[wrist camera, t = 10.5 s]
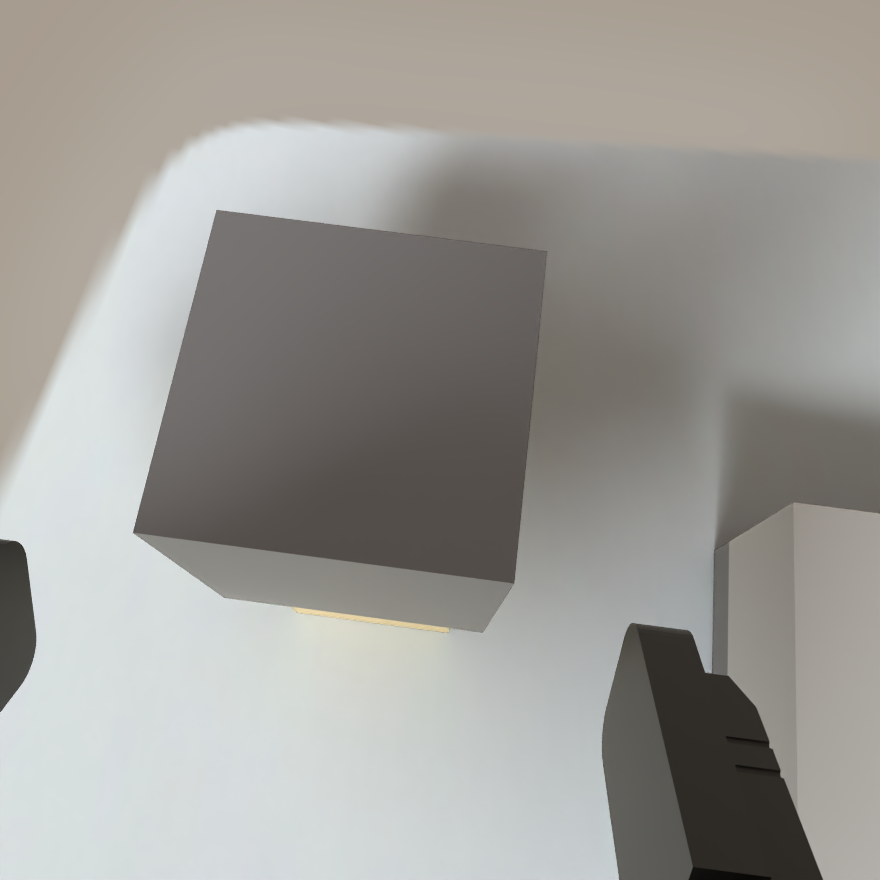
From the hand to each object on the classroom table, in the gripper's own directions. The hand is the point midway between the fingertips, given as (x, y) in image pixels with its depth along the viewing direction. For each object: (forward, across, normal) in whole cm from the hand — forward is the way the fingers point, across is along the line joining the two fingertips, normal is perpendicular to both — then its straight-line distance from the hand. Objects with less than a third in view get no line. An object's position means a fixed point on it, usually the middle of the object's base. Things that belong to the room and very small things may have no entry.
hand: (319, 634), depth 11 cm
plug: (+8, 0, +4) cm, 9 cm away
